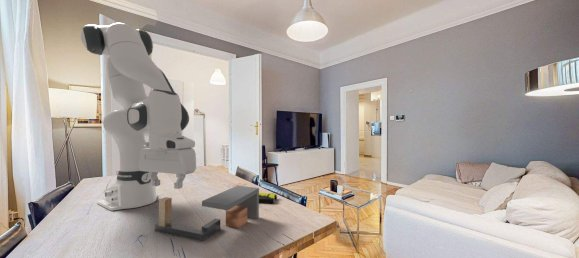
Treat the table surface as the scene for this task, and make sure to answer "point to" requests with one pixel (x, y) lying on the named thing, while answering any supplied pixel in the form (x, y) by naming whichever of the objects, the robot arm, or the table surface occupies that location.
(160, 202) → the tan-tipped l-shaped bar
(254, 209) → the grey l-shaped bookend
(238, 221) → the cube
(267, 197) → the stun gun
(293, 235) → the table surface
